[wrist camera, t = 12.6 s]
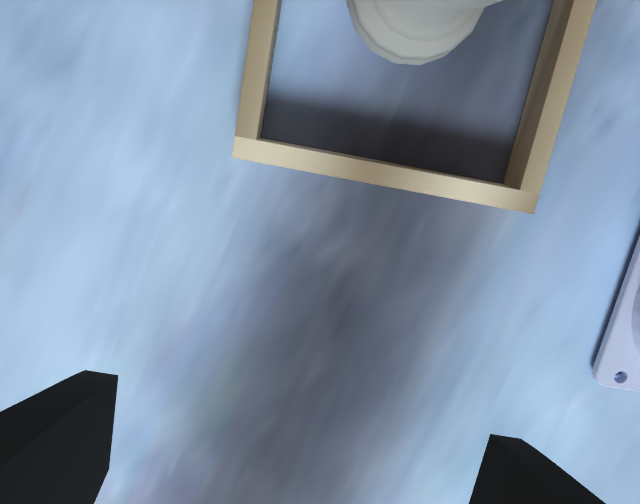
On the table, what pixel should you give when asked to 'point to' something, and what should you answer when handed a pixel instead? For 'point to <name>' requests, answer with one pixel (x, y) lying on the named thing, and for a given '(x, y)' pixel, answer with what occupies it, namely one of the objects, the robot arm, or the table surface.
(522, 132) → the beige square frame
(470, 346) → the table surface
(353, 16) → the rook chess piece
